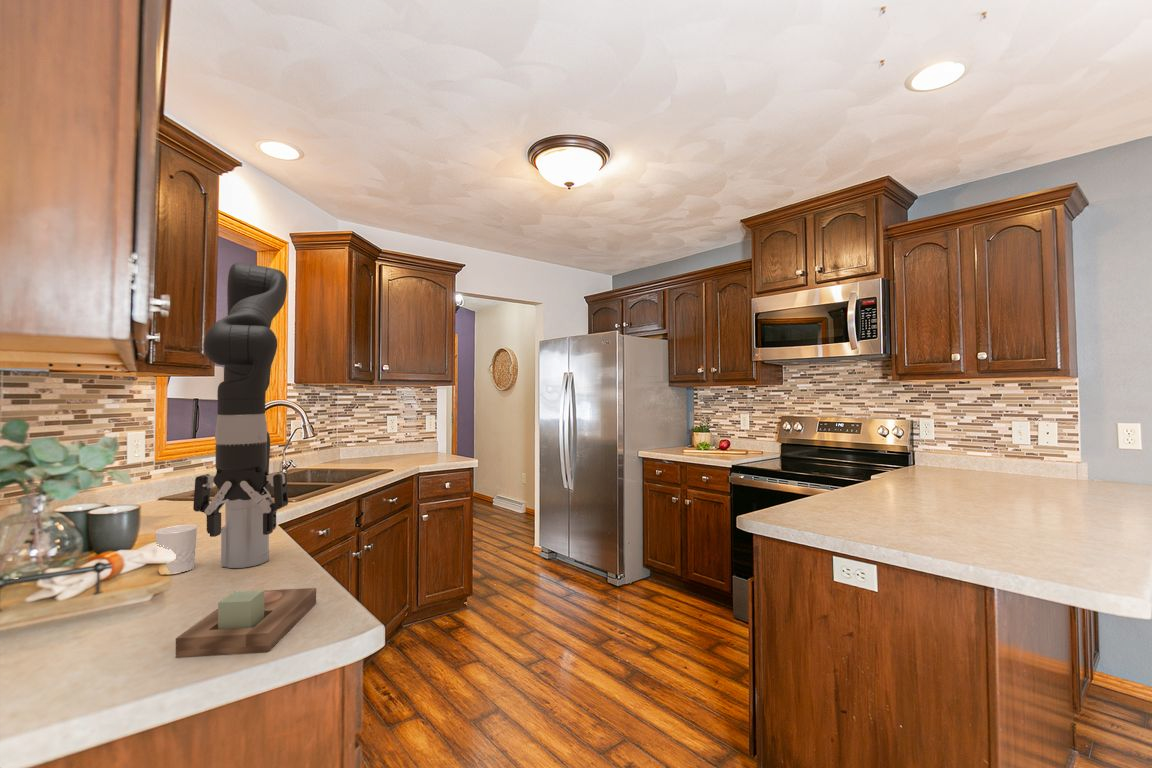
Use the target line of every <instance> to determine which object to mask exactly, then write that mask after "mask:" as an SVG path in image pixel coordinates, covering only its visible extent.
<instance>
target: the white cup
mask: <svg viewBox="0 0 1152 768" xmlns="http://www.w3.org/2000/svg"><path fill="white" fill-rule="evenodd" d="M197 530H198V525H195V524H182V525H181V524H180V525H174V526H168V527H163V528H160V529H157V530H156V531H155V545H156V544H159V545H157V546H159V547H163V545H164V547H163V548H165V549H168V550H169V549H171V550H172V551H173V552H174V553H175V554H176V559H175V560H174V561H172V562H170V563H167V564H166V565H165V566H166V567H167V568H168V570H169V571H170V573H174V572H184V571H188V570H190V571H192V570H193V569H194V568H195V557H196V549H197V534H198V531H197ZM160 545H161V546H160ZM167 547H168V548H167ZM191 569H192V570H191ZM188 572H189V571H188Z"/></svg>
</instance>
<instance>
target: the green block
mask: <svg viewBox="0 0 1152 768" xmlns="http://www.w3.org/2000/svg"><path fill="white" fill-rule="evenodd" d="M264 590H265V589H260V590H241V591H240V590H239V591H237V590H236V591H233V592H232V593H230V594H229V595H227V596H226V597H224V598H223V599H222V600H220V601H219V602H217V609H218V629H236V628H254V627H255V626H256V625H257V624H258V623H259V622H260V621H262V620H263V619H264Z"/></svg>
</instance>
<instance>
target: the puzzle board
mask: <svg viewBox="0 0 1152 768" xmlns="http://www.w3.org/2000/svg"><path fill="white" fill-rule="evenodd" d="M263 590H264V619H263V620H262V621H260V622H259V623H258V624H257V625H256V626H255V627H254V628H236V629H218V608H217V609H215V610H213V611H212V612H211V613H209V614H207V615H206V616H205V617H204V618H202V619H200V621H198V622H197V623H195V624H194V625H192V626H191V627H190V628H188V629H187V630H185V631H183V633H181V634H179V635H178V636H177V637H175V658H189V657H203V656H206V657H207V656H219V655H235V654H236V655H238V654H239V655H240V654H253V653H254V654H255V653H268V652H270V651H271V650H272V649H273V648H274V647H275V646H276V645H277V644H278V643H279V642H280V641H281V640H280V639H281V638H282V637H283V636H284V635H285V636H286V635H287V634H288V632H290V630H291V629H292V628H293V627H295V625H296V624H297V623H298V622H299V621H300V620H301V619H302V618H303V617H304V616H305V615H306V614H307V613H308V612H309V611H310V610H311V609H312V608H314V606H315V605H316V604H317V587H305V588H286V589H285V588H283V589H267V590H266V589H263ZM304 614H305V615H304ZM300 618H301V619H300ZM299 619H300V620H299ZM298 620H299V621H298ZM294 624H295V625H294ZM291 627H292V628H291ZM285 636H284V637H285ZM282 639H283V638H282ZM279 640H280V641H279ZM278 641H279V642H278ZM277 642H278V643H277Z"/></svg>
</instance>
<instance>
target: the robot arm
mask: <svg viewBox="0 0 1152 768" xmlns="http://www.w3.org/2000/svg"><path fill="white" fill-rule="evenodd" d="M226 286H227V290H226V291H227V293H226V295H227V296H226V297H227V316H224V317H223V318H221V319H219V320H218V321H216V322H215V323H213V324H212V325H211V326H210V328H209V329H208V331H207V332H206V334H205V336H204V340H203V349H204V353H205V355H206V357H207V358H208V359H209V360H210V361H211V362H212V363H214V364H216V365H219V366H224V367H223V370H224V371H223V381H222V382H220V383H219V384H218V386H217V394H216V395H217V416H216V417H217V419H216V424H215V435H214V440H215V469H216V472H215V473H216V474H215V475H210V473H205V474H202V475H199V476H196V477H195V479H194V490H193V491H194V493H193V506H192V507H193V511H194V512H197V513H198V512H200V513H204V514H205V515H206V532H207V534H209V537H210V538H215V537H218V536H220V535H221V537H220V538H221V540H220V542H221V544H220V547H221V548H220V550H221V552H220V554H221V555H220V557H221V558H220V559H221V561H220V563H221V565H220V567H221V568H229V569H242V568H243V569H244V568H251V567H254V566H259V565H261V564H264V563H266V562H268V561H269V558H270V534H272V533H273V531H274V530H276V528H277V511H278V510H280V509H282V508H284V507H287V506H288V505H289V493H288V480H287V479H288V478H287V475H288V474H287V473H286V472H284V471H283V472H280V473H274V474H270V455H271V436H270V434H269V431H268V423H267V417H266V393H267V391H268V390H269V386H270V382H271V381H270V380H271V379H270V378H271V371H272V365H273V363H274V359H275V356H276V353H277V350H278V339H277V336H276V334H275V333H274V331H273V330H272V329H271V326H272V322H273V320H274V318H275V317H276V316H277V315H278V314H279V313H280V310H281V309H282V308H283V306H284V304H285V301H286V297H287V291H288V290H287V289H288V280H287V277H286V274H285V273H284V272H283V271H282V270H279V269H276V268H272V267H267V266H262V265H255V264H250V263H245V262H244V263H243V262H235V263H233V264H232V265H231V266H230V268H229V271H228V275H227V285H226ZM214 485H215V487H216V488H217V489H218V491H217V492H216V494H215V495H214V496H213V498H212V499H211V500H210V498H211V488H212V487H213V486H214ZM269 486H271V487H273V497H274V499H273V498H272V495H271V493H270V487H269ZM210 501H211V502H210ZM224 506H225V514H224V515H225V517H224V518H225V520H224V521H225V524H224V526H222V512H220V511H221V510H222V508H223V507H224Z"/></svg>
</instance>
